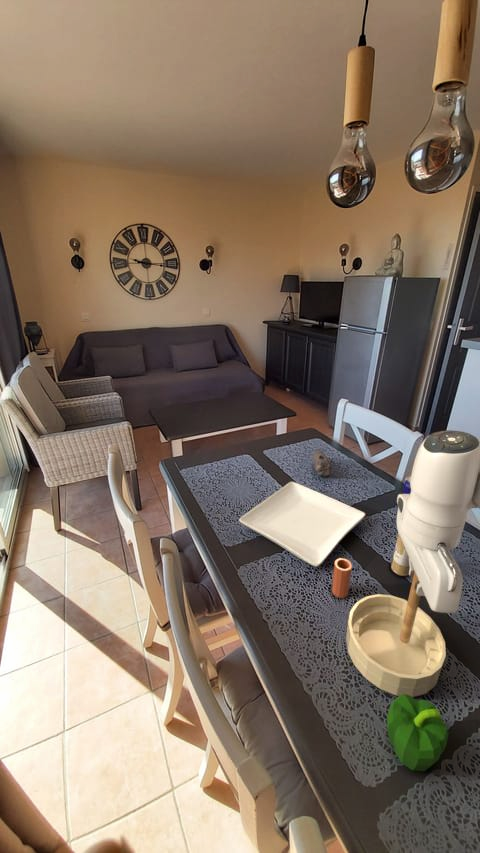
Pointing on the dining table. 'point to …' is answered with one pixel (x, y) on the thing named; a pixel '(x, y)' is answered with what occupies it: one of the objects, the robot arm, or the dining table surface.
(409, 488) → the energy drink
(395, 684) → the bowl
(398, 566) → the sprinkles bottle
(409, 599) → the stirring stick
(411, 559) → the robot arm
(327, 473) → the perforated stone tool
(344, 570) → the stick holder
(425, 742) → the bell pepper
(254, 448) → the dining table surface
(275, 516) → the square plate
